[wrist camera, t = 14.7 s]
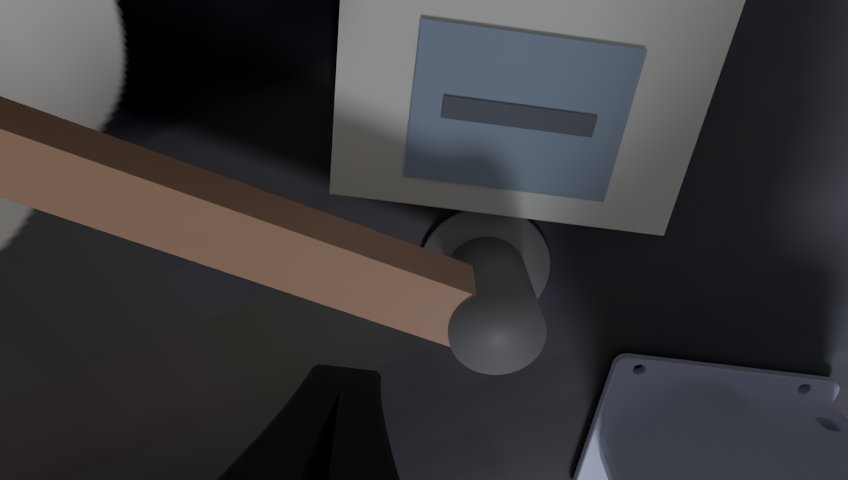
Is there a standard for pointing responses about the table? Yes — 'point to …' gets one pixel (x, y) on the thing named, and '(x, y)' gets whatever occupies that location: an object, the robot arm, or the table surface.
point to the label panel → (525, 111)
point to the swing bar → (275, 240)
